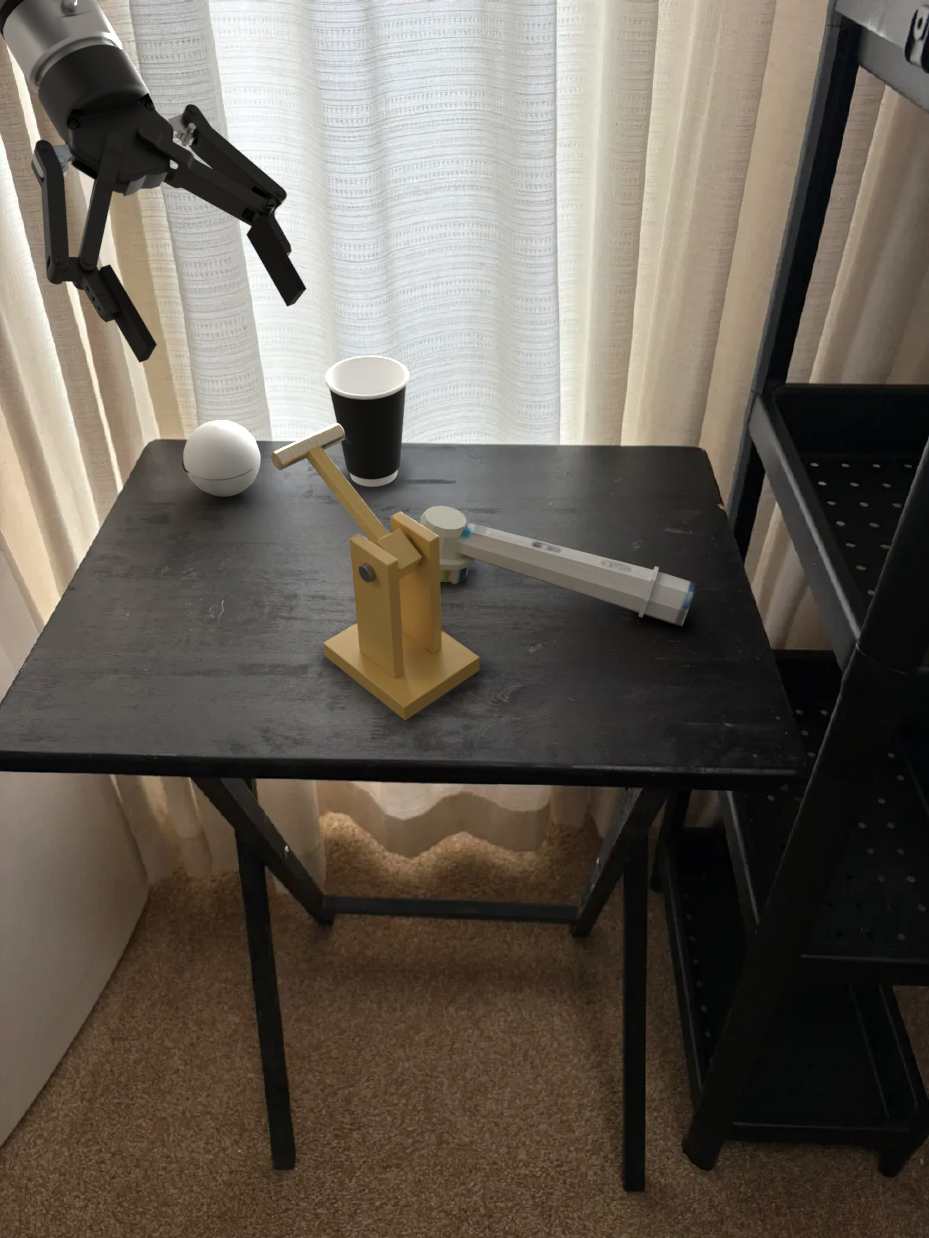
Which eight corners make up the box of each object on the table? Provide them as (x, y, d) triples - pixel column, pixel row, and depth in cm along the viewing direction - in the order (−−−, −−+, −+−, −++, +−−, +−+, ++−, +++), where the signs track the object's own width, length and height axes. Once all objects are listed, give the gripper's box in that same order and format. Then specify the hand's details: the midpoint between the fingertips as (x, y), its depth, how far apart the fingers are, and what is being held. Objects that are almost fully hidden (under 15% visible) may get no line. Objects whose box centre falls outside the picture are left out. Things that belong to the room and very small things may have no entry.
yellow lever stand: (324, 656, 86) (308, 530, 77) (398, 611, 90) (391, 487, 81) (405, 720, 80) (397, 593, 72) (479, 670, 84) (481, 544, 76)
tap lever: (268, 463, 79) (273, 445, 77) (330, 434, 82) (337, 415, 80) (371, 596, 77) (379, 581, 75) (431, 561, 80) (441, 546, 78)
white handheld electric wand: (690, 605, 84) (401, 514, 88) (668, 662, 89) (395, 573, 92) (700, 567, 88) (423, 480, 92) (679, 623, 93) (415, 539, 96)
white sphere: (206, 465, 107) (193, 402, 102) (275, 473, 106) (266, 409, 101) (166, 522, 99) (150, 457, 95) (240, 532, 98) (228, 466, 93)
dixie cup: (428, 468, 106) (426, 370, 99) (378, 505, 101) (372, 405, 94) (369, 443, 110) (362, 347, 102) (318, 478, 105) (307, 379, 98)
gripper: (-82, 72, 69) (87, 359, 71) (234, 12, 82) (370, 255, 84) (-87, 139, 75) (68, 400, 77) (207, 73, 88) (334, 297, 90)
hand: (225, 325), depth 80 cm, fingers open, 13 cm apart
